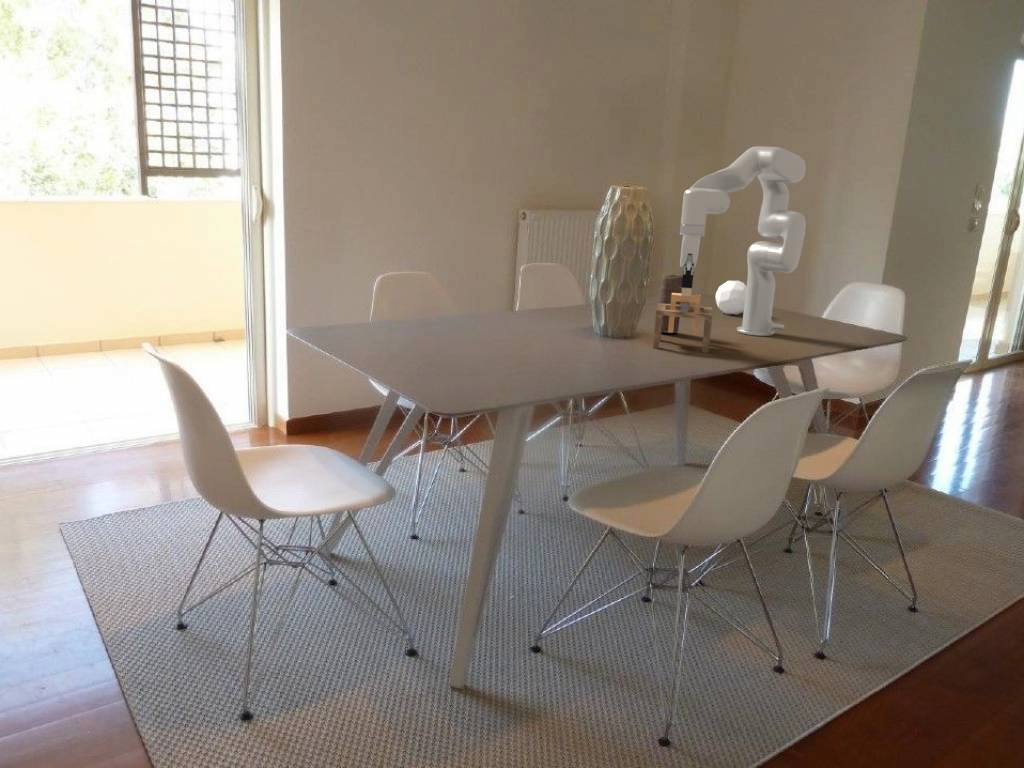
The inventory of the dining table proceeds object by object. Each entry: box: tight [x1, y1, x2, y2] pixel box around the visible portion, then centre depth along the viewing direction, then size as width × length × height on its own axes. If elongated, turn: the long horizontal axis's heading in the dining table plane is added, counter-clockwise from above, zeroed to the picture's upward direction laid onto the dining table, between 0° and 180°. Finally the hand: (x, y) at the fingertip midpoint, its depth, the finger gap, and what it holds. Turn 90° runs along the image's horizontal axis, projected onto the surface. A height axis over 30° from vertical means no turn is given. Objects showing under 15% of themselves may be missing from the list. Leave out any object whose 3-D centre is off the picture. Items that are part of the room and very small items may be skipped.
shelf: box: [652, 303, 714, 354], centre depth 277 cm, size 17×14×12 cm
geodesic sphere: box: [715, 279, 747, 316], centre depth 340 cm, size 14×14×14 cm
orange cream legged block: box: [668, 287, 702, 336], centre depth 275 cm, size 9×5×17 cm, turn 78°
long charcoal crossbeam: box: [680, 302, 690, 313], centre depth 275 cm, size 2×14×2 cm, turn 168°
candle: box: [659, 274, 683, 334], centre depth 295 cm, size 8×7×20 cm
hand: (686, 285), depth 274 cm, fingers open, 9 cm apart
